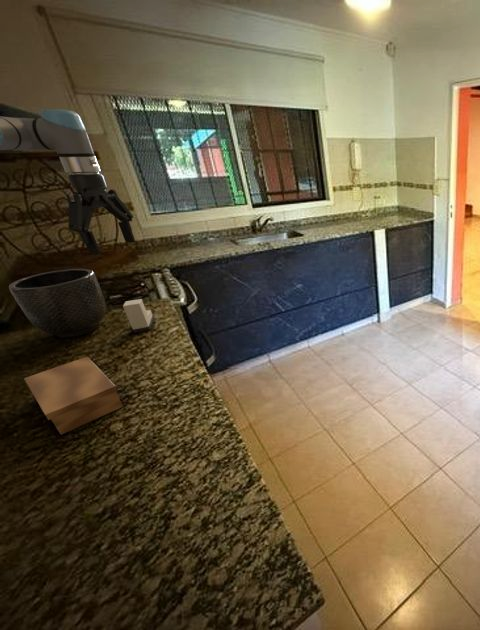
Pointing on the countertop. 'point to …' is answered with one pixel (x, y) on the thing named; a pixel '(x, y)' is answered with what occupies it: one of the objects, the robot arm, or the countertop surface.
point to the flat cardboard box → (74, 394)
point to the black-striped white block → (138, 315)
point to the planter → (61, 301)
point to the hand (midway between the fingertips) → (114, 247)
